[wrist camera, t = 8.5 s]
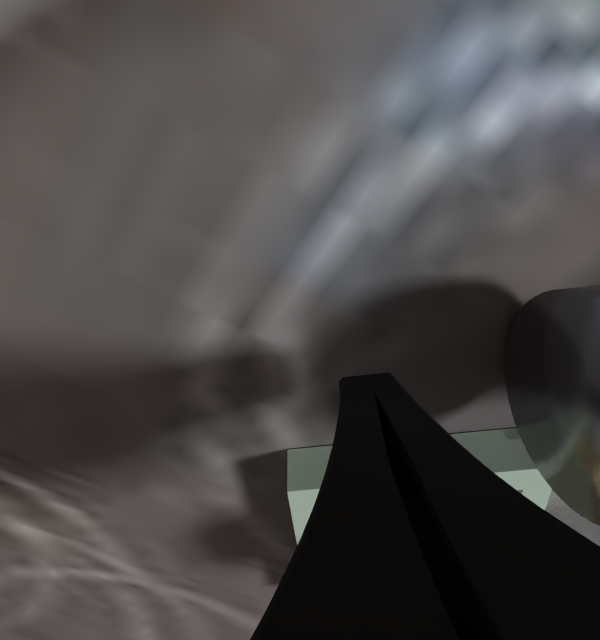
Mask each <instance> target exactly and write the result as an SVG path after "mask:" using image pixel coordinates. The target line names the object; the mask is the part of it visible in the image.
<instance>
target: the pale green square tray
mask: <svg viewBox="0 0 600 640" xmlns="http://www.w3.org/2000/svg"><path fill="white" fill-rule="evenodd" d="M450 435H451V436H452V437H453V438H454V439H455V440H456V441H457V442H458V443H460V444H461V445H462V446H463V447H464V448H465V449H466V450H468V451H469V452H470V453H471V454H472V455H473V456H474V457H476V458H477V459H478V460H479V461H480V462H482V463H483V464H484V465H485V466H486V467H488V468H489V469H490V470H491V471H493V472H494V473H495V474H496V475H498V476H499V477H500V478H501V479H503V480H504V481H505V482H507V483H508V484H509V485H511V486H512V487H513V488H514V489H516V490H517V491H518V492H520V493H521V494H522V495H524V496H525V497H527V498H528V499H529V500H531V501H532V502H534V503H535V504H536V505H538V506H539V507H540V508H542V509H543V510H545V508H546V505H547V502H548V499H549V496H550V493H551V490H552V488H551V487H550V486H549V485H548V483H547V482H546V481H545V479H544V478H543V477H542V475H541V474H540V472H539V471H538V469H537V468H536V466H535V465H534V463H533V461H532V459H531V458H530V456H529V454H528V452H527V450H526V448H525V446H524V444H523V442H522V439H521V437H520V435H519V432H518V430H517V428H510V429H499V430H489V431H478V432H468V433H457V434H450ZM331 449H332V445H331V446H320V447H310V448H299V449H289V450H287V494H288V499H289V504H290V510H291V515H292V520H293V526H294V531H295V536H296V542H297V545H298V543H299V541H300V539H301V536H302V534H303V531H304V529H305V526H306V524H307V521H308V519H309V517H310V514H311V512H312V509H313V506H314V504H315V501H316V498H317V495H318V493H319V490H320V487H321V484H322V481H323V478H324V474H325V471H326V468H327V464H328V460H329V457H330V453H331Z"/></svg>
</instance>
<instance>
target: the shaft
mask: <svg viewBox="0 0 600 640" xmlns="http://www.w3.org/2000/svg"><path fill="white" fill-rule="evenodd" d="M505 376H506V387H507V393H508V398H509V403H510V407H511V411H512V415H513V418H514V421H515V424H516V427H517V430H518V432H519V435H520V437H521V439H522V442H523V444H524V446H525V448H526V450H527V452H528V454H529V456H530V458H531V459H532V461H533V463H534V465H535V466H536V468H537V469H538V471H539V472H540V474H541V475H542V477H543V478H544V479H545V481H546V482H547V483H548V485H549V486H550V487H551V488H552V489H553V491H554V492H555V493H556V494H557V495H558V496H559V497H560V498H561V499H562V500H563V501H564V502H565V503H566V504H567V505H568V506H569V507H570V508H572V509H573V510H574V511H576V512H577V513H578V514H580V515H581V516H583V517H584V518H586V519H588V520H589V521H591V522H593V523H595V524H597V525H600V285H598V286H587V287H577V288H568V289H558V290H551V291H547V292H544V293H541V294H539V295H537V296H535V297H534V298H532V299H531V300H530V301H528V302H527V303H526V304H525V306H524V307H523V308H522V309H521V310H520V312H519V313H518V315H517V316H516V318H515V320H514V322H513V325H512V327H511V330H510V333H509V337H508V341H507V347H506V356H505Z"/></svg>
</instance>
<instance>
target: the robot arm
mask: <svg viewBox="0 0 600 640" xmlns="http://www.w3.org/2000/svg"><path fill="white" fill-rule="evenodd" d="M339 388H340V407H339V416H338V421H337V427H336V432H335V437H334V442H333V445H332V449H331V453H330V457H329V460H328V464H327V468H326V471H325V474H324V478H323V481H322V484H321V487H320V490H319V493H318V495H317V498H316V501H315V504H314V506H313V509H312V512H311V514H310V517H309V519H308V521H307V524H306V526H305V529H304V531H303V534H302V536H301V539H300V541H299V543H298V545H297V548H296V550H295V552H294V554H293V557H292V559H291V561H290V563H289V565H288V567H287V569H286V571H285V573H284V575H283V577H282V579H281V581H280V583H279V585H278V588H277V590H276V592H275V594H274V596H273V598H272V600H271V602H270V604H269V606H268V608H267V610H266V612H265V613H264V615H263V617H262V619H261V621H260V623H259V625H258V626H257V628H256V630H255V632H254V634H253V635H252V637H251V639H250V640H600V546H598V545H596V544H595V543H593V542H592V541H590V540H589V539H587V538H586V537H584V536H583V535H581V534H580V533H578V532H577V531H575V530H574V529H572V528H571V527H569V526H568V525H566V524H564V523H563V522H561V521H560V520H558V519H557V518H555V517H554V516H552V515H551V514H549V513H548V512H546V511H545V510H543V509H542V508H540V507H539V506H538V505H536V504H535V503H534V502H532V501H531V500H529V499H528V498H527V497H525V496H524V495H522V494H521V493H520V492H518V491H517V490H516V489H514V488H513V487H512V486H511V485H509V484H508V483H507V482H505V481H504V480H503V479H501V478H500V477H499V476H498V475H496V474H495V473H494V472H493V471H491V470H490V469H489V468H488V467H486V466H485V465H484V464H483V463H482V462H480V461H479V460H478V459H477V458H476V457H474V456H473V455H472V454H471V453H470V452H469V451H468V450H466V449H465V448H464V447H463V446H462V445H461V444H460V443H458V442H457V441H456V440H455V439H454V438H453V437H452V436H451V435H450V434H449V433H448V432H447V431H446V430H445V429H444V428H442V427H441V426H440V425H439V424H438V423H437V422H436V421H435V420H434V419H433V418H432V417H431V416H430V415H429V414H428V413H427V412H426V411H425V410H424V409H423V408H422V407H421V406H420V405H419V404H418V402H417V401H416V400H415V399H414V398H413V397H412V396H411V395H410V394H409V393H408V392H407V391H406V390H405V388H404V387H403V386H402V385H401V384H400V383H399V382H398V380H397V379H396V378H395V377H394V376H393V375H392V374H391V373H381V374H371V375H361V376H351V377H343V378H342V379H341V380H340V381H339Z"/></svg>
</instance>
